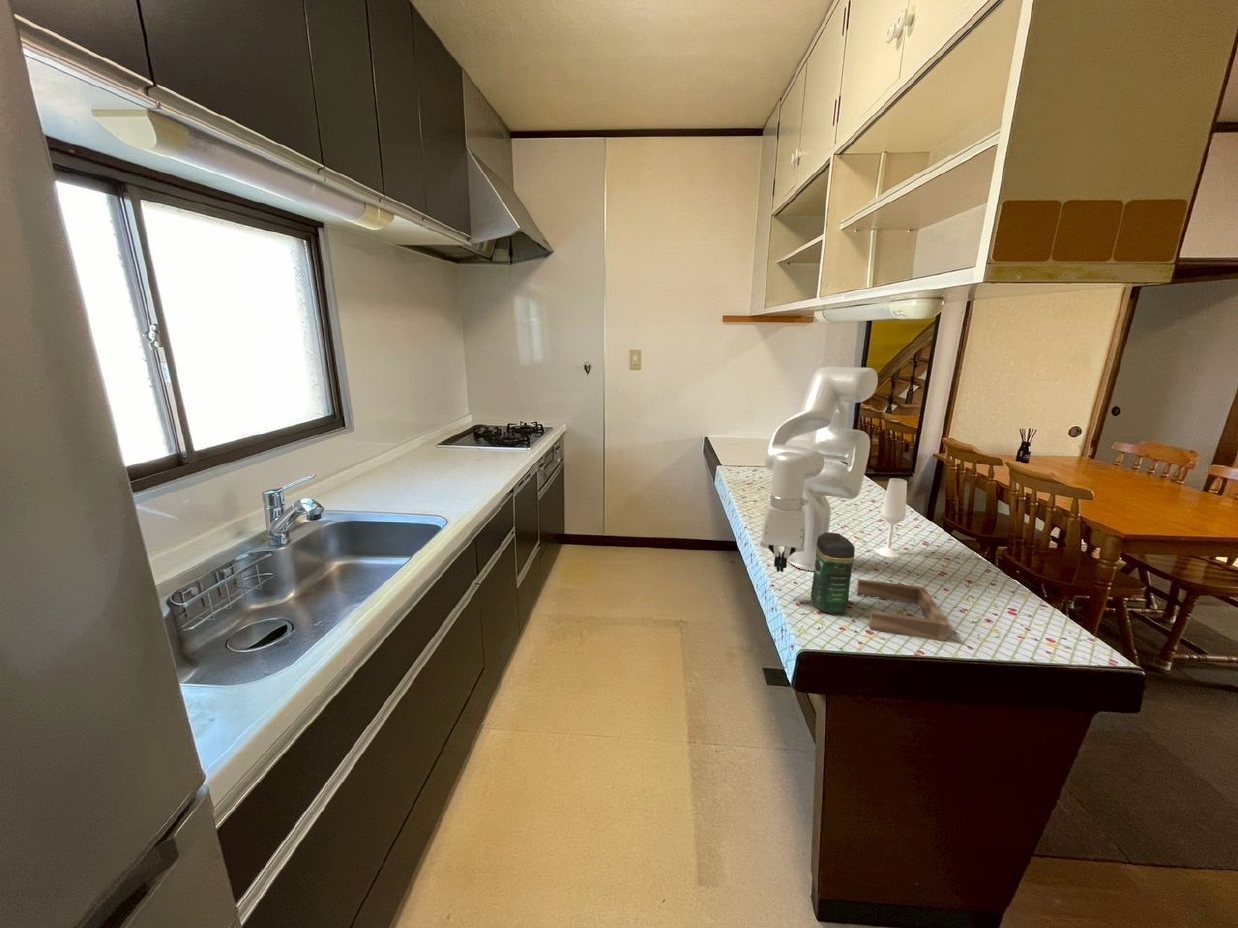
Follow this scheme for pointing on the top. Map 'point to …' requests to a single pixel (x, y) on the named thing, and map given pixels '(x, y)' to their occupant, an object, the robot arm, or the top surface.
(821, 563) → the coffee jar
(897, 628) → the display stand
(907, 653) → the top surface
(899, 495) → the champagne flute
